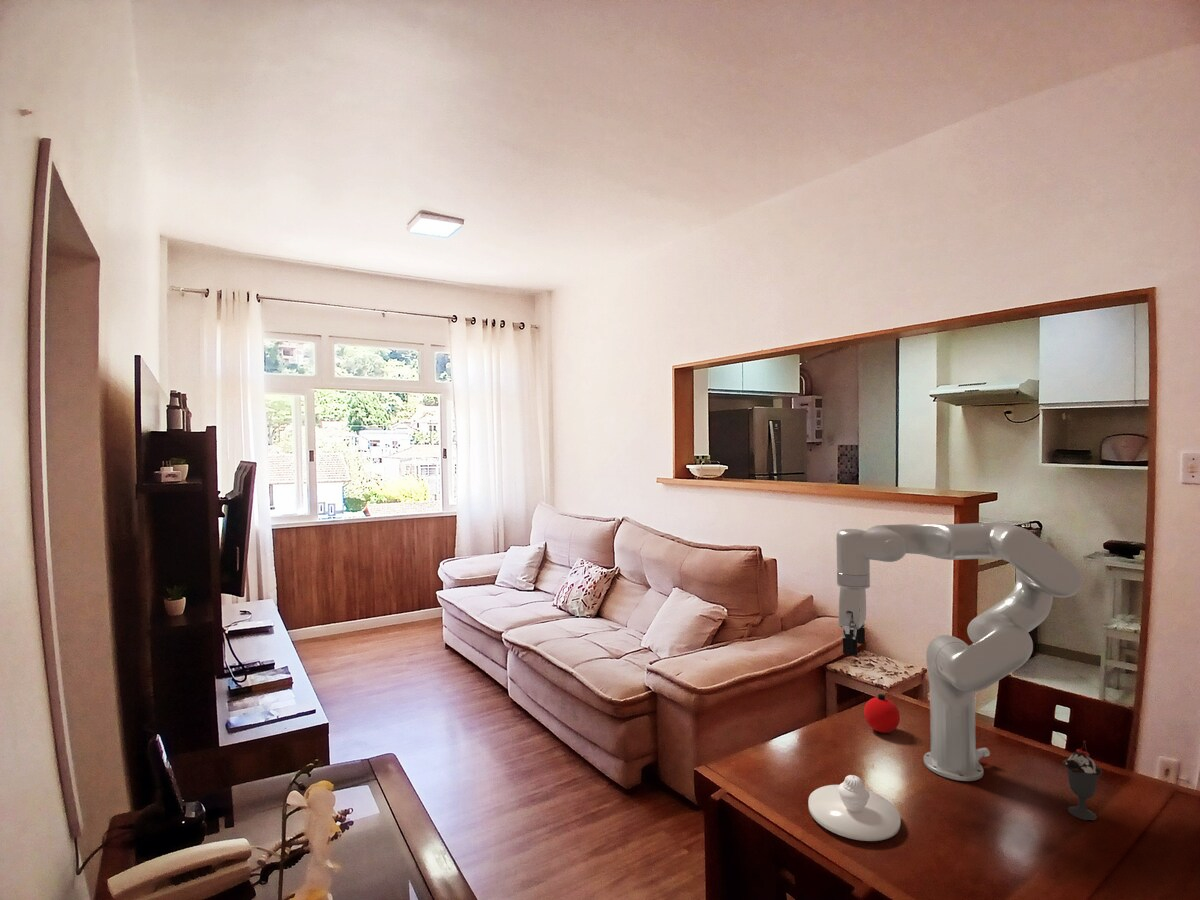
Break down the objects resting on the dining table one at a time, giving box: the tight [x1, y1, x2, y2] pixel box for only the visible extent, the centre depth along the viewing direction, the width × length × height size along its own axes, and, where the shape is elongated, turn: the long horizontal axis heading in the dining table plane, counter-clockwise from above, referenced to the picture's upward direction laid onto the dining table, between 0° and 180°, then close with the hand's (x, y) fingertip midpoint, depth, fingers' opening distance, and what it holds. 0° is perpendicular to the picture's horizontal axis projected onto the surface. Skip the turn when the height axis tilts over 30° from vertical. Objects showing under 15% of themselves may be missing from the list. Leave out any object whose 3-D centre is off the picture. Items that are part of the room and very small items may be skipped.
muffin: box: [838, 774, 870, 813], centre depth 130 cm, size 6×6×7 cm
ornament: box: [863, 693, 901, 734], centre depth 168 cm, size 9×9×10 cm
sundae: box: [1062, 740, 1103, 821], centre depth 130 cm, size 7×7×15 cm
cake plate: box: [807, 784, 901, 842], centre depth 130 cm, size 18×18×2 cm
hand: (854, 648), depth 152 cm, fingers open, 9 cm apart
